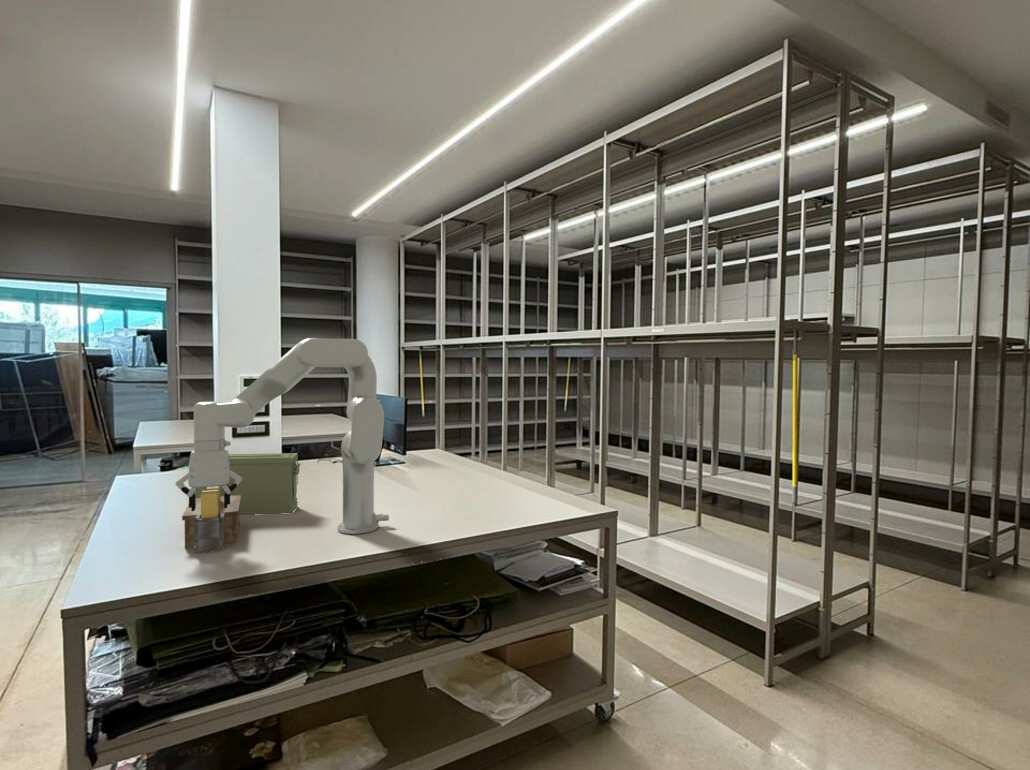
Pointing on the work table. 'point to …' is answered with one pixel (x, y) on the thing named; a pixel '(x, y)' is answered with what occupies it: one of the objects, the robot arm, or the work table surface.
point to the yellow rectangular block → (209, 504)
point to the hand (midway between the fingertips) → (209, 508)
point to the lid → (229, 511)
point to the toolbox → (211, 534)
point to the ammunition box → (264, 482)
